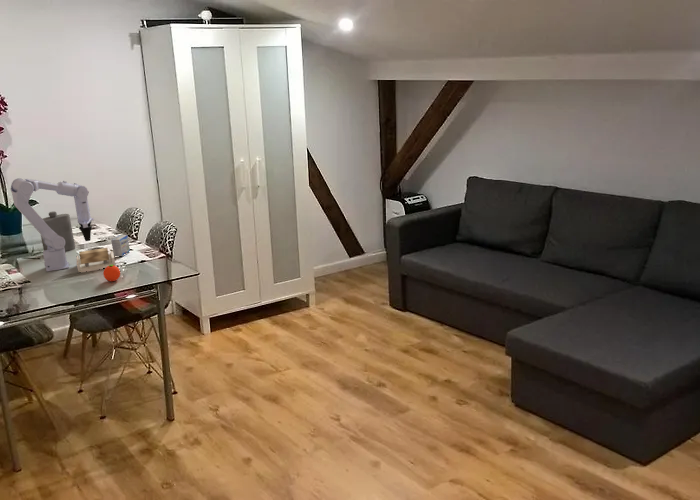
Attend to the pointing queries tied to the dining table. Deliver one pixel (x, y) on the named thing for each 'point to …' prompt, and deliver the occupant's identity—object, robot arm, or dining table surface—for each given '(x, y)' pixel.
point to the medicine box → (120, 245)
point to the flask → (60, 229)
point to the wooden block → (94, 255)
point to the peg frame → (95, 264)
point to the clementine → (111, 273)
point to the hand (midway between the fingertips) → (87, 238)
